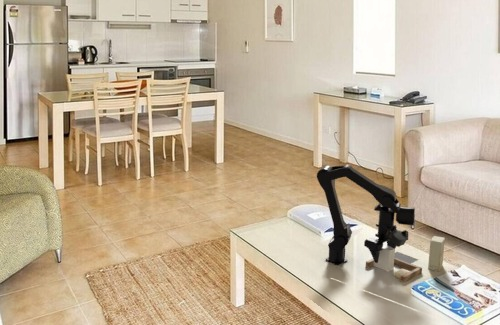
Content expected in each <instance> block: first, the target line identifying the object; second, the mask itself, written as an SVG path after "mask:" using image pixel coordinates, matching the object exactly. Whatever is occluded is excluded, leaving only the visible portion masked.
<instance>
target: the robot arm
mask: <svg viewBox="0 0 500 325" xmlns="http://www.w3.org/2000/svg"><path fill="white" fill-rule="evenodd" d="M341 178H346V179H348V180H350V181H351V182H353V183H354V184H355V185H357V186H359V187H360V188H362V189H363V190H364V191H366V192H368V194H369V193H370V194H371V195H372V197H373V198H374V199H375V200H376V201H377V202H378V204H377V205H376V206H374V209H373V211H376V212H379V213H378V222H377V223H376V224H375V227H376V228H377V232H376V233H375V234H374V236H375V237H377V238H375V237H373V236H372V237H369V238H367V239H365V240H364V243H363V246H364V247H366V248H367V249H368V251H369V253H370V254H371V258H372V259H374V261H375V263H378V260H379V254H380V251H381V250H383V249H382V247H383V244H384V243H386V245H387V246H389V247H392V248H395V249H396V247H398V248H400V247H401V246H404V245H405V244H406V242H407V241H408V240H409V231H408V230H407V229H405V230H399V229H397V225H396V224H395V222H396V223H398V225H403V226H404V225H405V226H410V227H411V226H415V220H416V219H415V218H416V214H415V213H416V212H415V210H416V208H415V207H411V206H410V207H407V206H402V205H401V203H400V201H399V200H398V198H397V193H396V191H395V190H393V189H392V188H390V187H387V186H385V185H381V184H379V183H377V182H375V181H373V180H372V179H370V178H369V177H367V176H366V175H364V174H363V173H362V172H360V171H358V170H357V169H355V168H354V167H353V166H351V165H350V164H344V165H334V166H330V165H324V166H322V167H321V168H319V170H318V171H317V173H316V179H317V181H318V184H319V185H320V188H322V190H323V191H324V194H325V199H326V202H327V205H328V206H327V207H328V209H329V213H330V216H331V220H332V223H333V234H332V235H333V236H332V237H331V239H330V241H329V242H328V245H327V246H328V257H326V258H325V261H327V262H329V263H331V264H333V265H336V266H340V265H342V264H344V263H346V262H348V259H347V258H346V246H347V245H348V244H349V242H350V240H351V237H352V234H353V231H352V229H351V223H347V222H345V221H346V220H344V216H343V212H342V208H341V205H340V202H339V198H338V193H337V190H336V180H337V179H341Z"/></svg>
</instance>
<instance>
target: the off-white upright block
mask: <svg viewBox="0 0 500 325" xmlns="http://www.w3.org/2000/svg"><path fill="white" fill-rule="evenodd" d="M382 249H383V250H381V251H380V254H379V260H378V263H375V261H373V266H372V267H376V268H378V269H381V270H383V271H385V272H387V273H389V272H390V271H393V270H394V267H395V266H394V265H395V264H394V256H395V252H396V248H392V247H389V246H387V244H384V243H383V247H382Z"/></svg>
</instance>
